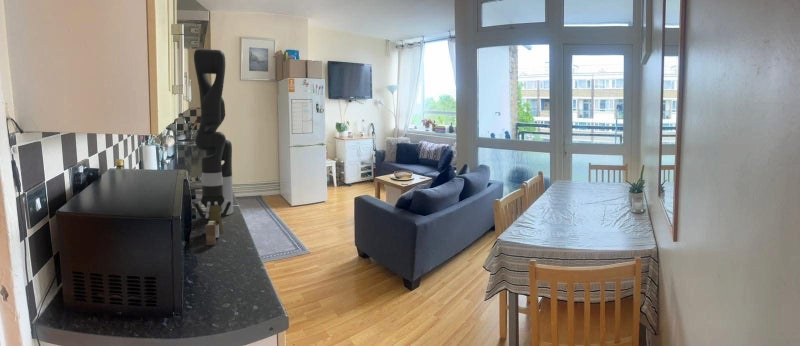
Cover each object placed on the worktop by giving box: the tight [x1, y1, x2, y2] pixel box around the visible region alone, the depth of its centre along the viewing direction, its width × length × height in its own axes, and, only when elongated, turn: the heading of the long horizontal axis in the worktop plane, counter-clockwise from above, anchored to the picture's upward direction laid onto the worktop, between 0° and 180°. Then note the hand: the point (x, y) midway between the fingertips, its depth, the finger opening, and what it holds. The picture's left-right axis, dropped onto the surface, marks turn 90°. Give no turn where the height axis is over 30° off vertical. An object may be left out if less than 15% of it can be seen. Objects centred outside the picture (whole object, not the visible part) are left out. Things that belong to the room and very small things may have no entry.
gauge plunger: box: [207, 221, 221, 238], centre depth 172 cm, size 5×4×6 cm
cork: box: [208, 205, 225, 234], centre depth 179 cm, size 6×6×11 cm
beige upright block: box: [205, 221, 217, 246], centre depth 165 cm, size 6×3×8 cm, turn 17°
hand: (213, 226), depth 179 cm, fingers closed on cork, 3 cm apart
